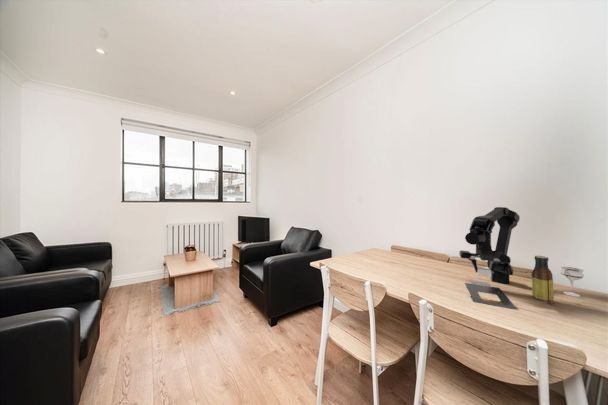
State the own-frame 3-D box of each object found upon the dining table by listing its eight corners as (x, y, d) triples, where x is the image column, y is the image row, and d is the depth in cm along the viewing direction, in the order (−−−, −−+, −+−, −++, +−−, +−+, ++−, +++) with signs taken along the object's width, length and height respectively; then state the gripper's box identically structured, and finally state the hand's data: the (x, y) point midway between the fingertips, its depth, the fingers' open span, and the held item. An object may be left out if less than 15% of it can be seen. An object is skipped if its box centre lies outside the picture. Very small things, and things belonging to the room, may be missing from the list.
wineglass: (581, 293, 99) (581, 268, 98) (585, 299, 94) (585, 272, 93) (558, 289, 103) (558, 265, 103) (561, 294, 98) (562, 269, 98)
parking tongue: (488, 284, 111) (488, 282, 111) (491, 288, 106) (491, 286, 106) (469, 281, 115) (469, 280, 114) (471, 285, 110) (471, 283, 110)
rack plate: (499, 289, 104) (499, 287, 104) (515, 309, 86) (515, 306, 86) (464, 284, 111) (464, 282, 111) (472, 301, 93) (472, 298, 93)
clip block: (488, 273, 105) (488, 267, 105) (491, 276, 101) (491, 270, 101) (475, 271, 108) (475, 266, 107) (478, 275, 103) (478, 269, 103)
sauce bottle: (546, 298, 95) (546, 255, 94) (558, 305, 89) (558, 259, 88) (528, 296, 97) (528, 254, 96) (537, 303, 91) (538, 258, 90)
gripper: (462, 243, 101) (463, 275, 102) (515, 247, 92) (515, 282, 93) (459, 239, 111) (459, 268, 111) (506, 242, 102) (506, 274, 102)
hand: (483, 273), depth 104 cm, fingers closed on clip block, 5 cm apart
